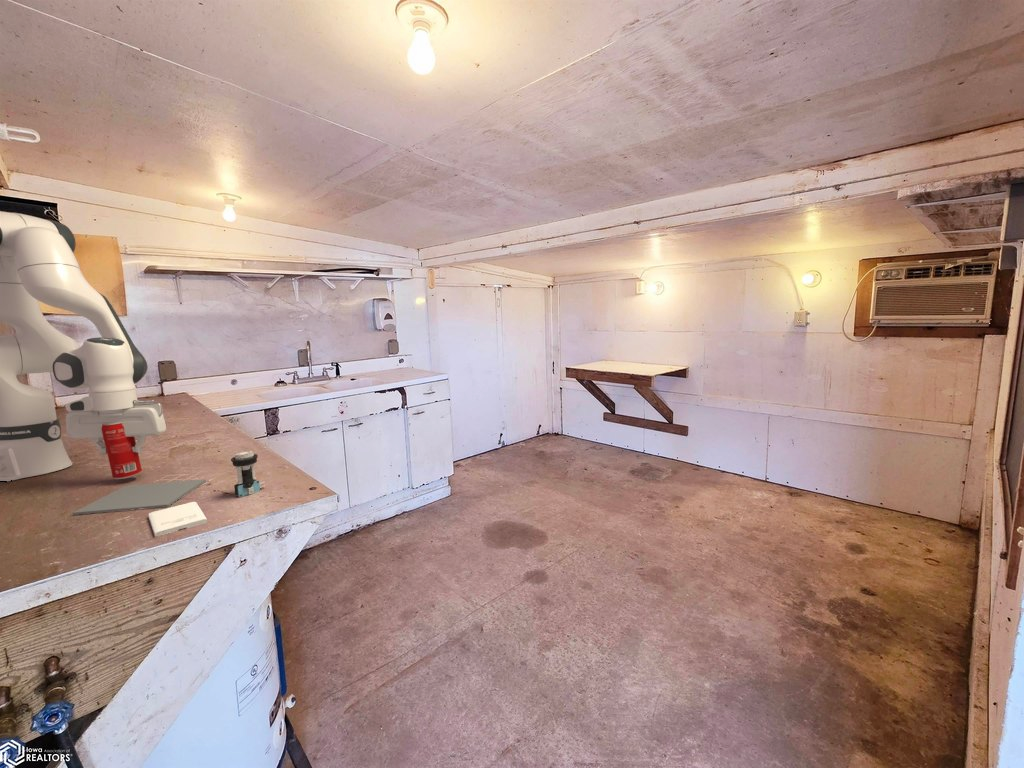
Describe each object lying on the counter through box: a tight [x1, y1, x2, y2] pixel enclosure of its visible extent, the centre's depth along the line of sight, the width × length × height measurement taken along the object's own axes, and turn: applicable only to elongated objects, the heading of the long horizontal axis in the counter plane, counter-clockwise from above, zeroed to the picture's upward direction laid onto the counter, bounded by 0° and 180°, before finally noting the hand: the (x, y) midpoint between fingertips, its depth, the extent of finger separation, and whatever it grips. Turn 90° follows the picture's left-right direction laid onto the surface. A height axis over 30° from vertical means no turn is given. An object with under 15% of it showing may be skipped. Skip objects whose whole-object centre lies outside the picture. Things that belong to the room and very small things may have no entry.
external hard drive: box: [148, 501, 208, 538], centre depth 86 cm, size 2×8×12 cm
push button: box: [230, 450, 266, 498], centre depth 99 cm, size 7×5×10 cm
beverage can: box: [101, 422, 143, 480], centre depth 108 cm, size 6×6×15 cm
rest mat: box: [72, 479, 207, 516], centre depth 98 cm, size 18×16×1 cm
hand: (121, 453), depth 108 cm, fingers closed on beverage can, 6 cm apart
